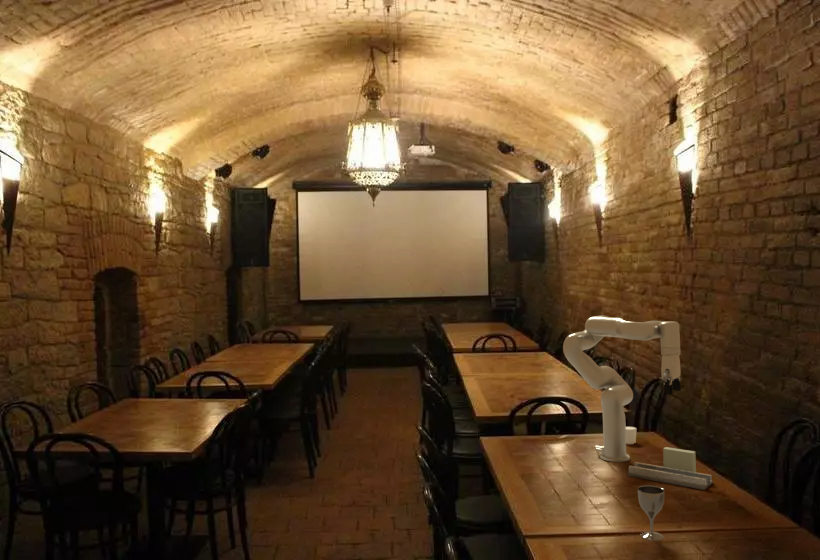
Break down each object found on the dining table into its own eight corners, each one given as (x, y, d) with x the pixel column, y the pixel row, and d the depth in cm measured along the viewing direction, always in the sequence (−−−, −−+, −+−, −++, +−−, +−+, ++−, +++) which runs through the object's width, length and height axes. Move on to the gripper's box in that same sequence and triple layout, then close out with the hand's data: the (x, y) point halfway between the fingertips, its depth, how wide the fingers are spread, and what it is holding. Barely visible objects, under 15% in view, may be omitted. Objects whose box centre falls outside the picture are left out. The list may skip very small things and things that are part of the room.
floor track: (627, 475, 277) (627, 467, 277) (637, 469, 284) (637, 461, 284) (704, 490, 257) (704, 480, 257) (712, 483, 265) (712, 474, 265)
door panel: (663, 470, 283) (663, 448, 282) (666, 468, 285) (665, 447, 285) (693, 475, 275) (693, 453, 275) (695, 473, 277) (695, 451, 277)
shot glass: (635, 440, 329) (634, 426, 328) (638, 444, 322) (638, 429, 322) (620, 440, 329) (620, 426, 329) (623, 444, 322) (623, 429, 322)
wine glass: (634, 532, 221) (633, 486, 220) (658, 530, 221) (657, 484, 221) (645, 542, 213) (644, 494, 212) (669, 540, 213) (668, 492, 213)
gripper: (668, 348, 292) (670, 388, 292) (654, 353, 278) (656, 395, 278) (686, 349, 287) (688, 389, 287) (672, 354, 273) (674, 396, 274)
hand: (672, 392), depth 283 cm, fingers open, 9 cm apart
